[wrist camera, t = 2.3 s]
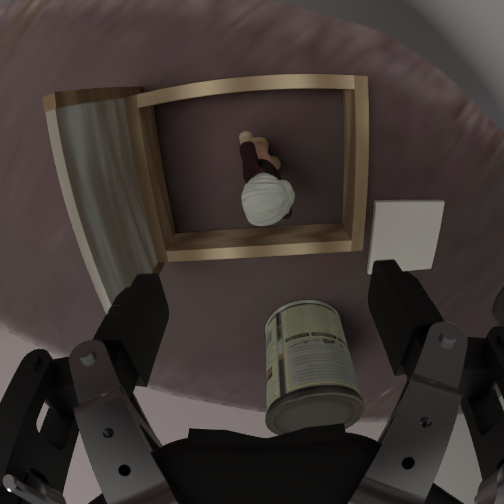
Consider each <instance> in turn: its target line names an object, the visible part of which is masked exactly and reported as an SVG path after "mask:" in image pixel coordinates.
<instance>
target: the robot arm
mask: <svg viewBox="0 0 504 504" xmlns="http://www.w3.org/2000/svg"><path fill="white" fill-rule="evenodd" d="M368 305H369V310H370V312H371V315H372V317H373V320H374V322H375V325H376V327H377V330H378V332H379V335H380V337H381V340H382V343H383V345H384V348H385V350H386V353H387V356H388V359H389V361H390V364H391V367H392V370H393V372H394V375H395V376H398V375H403V374H406V376H407V379H408V380H407V382H406V384H405V386H404V389H403V391H402V393H401V395H400V398H399V400H398V402H397V404H396V406H395V408H394V410H393V413H392V415H391V417H390V419H389V421H388V423H387V425H386V427H385V428H384V430H383V432H382V434H381V436H380V437H379V439H378V441H375V440H373V439H371V438H368V437H366V436H362V435H358V434H354V433H346V432H345V426H344V423H340V424H332V425H324V426H315V427H306V428H302V429H299V430H296V431H292V432H289V433H286V434H282V435H278V436H275V437H271V438H260V437H255V436H250V435H245V434H241V433H237V432H232V431H228V430H210V429H209V430H208V429H192V428H190V429H189V434H188V438H185V439H181V440H177V441H174V442H171V443H169V444H166V445H164V446H163V445H162V444H161V443H160V441H159V439H158V438H157V437H156V435H155V433H154V431H153V430H152V428H151V426H150V424H149V422H148V420H147V418H146V417H145V415H144V413H143V411H142V409H141V407H140V405H139V403H138V401H137V399H136V397H135V395H134V394H133V391H134V388H135V386H143V387H147V384H148V381H149V378H150V375H151V371H152V368H153V365H154V362H155V359H156V356H157V353H158V349H159V346H160V343H161V340H162V337H163V334H164V331H165V328H166V325H167V322H168V319H169V308H168V304H167V300H166V297H165V294H164V291H163V287H162V284H161V281H160V278H159V275H158V274H157V273H147V274H137V275H136V277H135V279H134V280H133V282H132V284H131V286H130V287H126V288H125V289H124V290H123V291H121V292H120V293H119V294H118V295H117V296H116V298H115V300H114V302H113V303H112V306H111V307H110V309H109V310H108V314H106V316H105V317H104V319H103V321H102V323H101V325H100V327H99V328H98V330H97V332H96V334H95V336H94V338H93V340H87V341H84V342H82V343H80V344H79V345H77V346H76V347H75V348H74V349H73V350H72V352H71V354H70V356H69V357H64V358H58V359H52V357H51V356H50V354H49V353H48V352H47V351H46V350H44V349H36V350H33V351H31V352H30V353H28V354H27V355H26V356H25V357H24V358H23V360H22V361H21V363H20V365H19V367H18V368H17V370H16V372H15V374H14V376H13V378H12V380H11V382H10V384H9V386H8V388H7V390H6V392H5V394H4V396H3V398H2V400H1V402H0V504H66V501H65V499H64V497H63V490H64V485H65V482H66V477H67V473H68V469H69V466H70V462H71V458H72V454H73V451H74V447H75V444H76V440H77V437H78V433H79V431H80V434H81V437H82V441H83V443H84V447H85V449H86V452H87V455H88V458H89V461H90V463H91V466H92V469H93V471H94V474H95V476H96V479H97V481H98V483H99V486H100V488H101V491H102V494H100V495H99V496H98V497H96V498H95V499H94V500H92V501H91V502H90V503H88V504H464V503H462V502H461V501H459V500H458V499H456V498H455V497H453V496H452V495H450V494H449V493H447V492H446V491H444V490H443V489H442V488H440V487H439V486H437V485H436V484H435V483H433V481H434V479H435V477H436V474H437V472H438V469H439V467H440V465H441V462H442V459H443V457H444V454H445V451H446V449H447V446H448V443H449V440H450V437H451V434H452V431H453V428H454V424H455V421H456V417H457V414H458V410H459V407H460V404H461V407H462V410H463V413H464V415H465V419H466V422H467V425H468V428H469V431H470V435H471V438H472V441H473V445H474V448H475V452H476V455H477V459H478V463H479V467H480V471H481V476H482V480H483V481H482V482H481V484H480V486H479V488H478V492H477V495H476V497H475V499H474V503H475V504H504V411H503V409H502V406H501V403H500V401H499V398H498V396H497V393H496V391H495V389H494V388H495V387H496V386H497V385H498V387H499V390H500V392H501V394H502V396H503V399H504V289H503V290H502V292H501V293H500V295H499V296H498V298H497V300H496V302H495V305H494V309H493V314H494V317H495V318H496V319H497V321H498V322H499V324H500V325H501V326H497V327H493V328H492V329H491V330H490V331H489V333H488V335H487V337H486V338H474V337H467V336H466V334H465V332H464V331H463V330H462V329H461V328H460V327H459V326H457V325H455V324H453V323H450V322H445V321H444V320H443V318H442V316H441V315H440V313H439V311H438V310H437V308H436V307H435V305H434V303H433V302H432V300H431V299H430V297H428V294H427V293H426V291H425V290H424V289H423V287H422V285H421V284H420V282H419V281H418V279H417V278H416V277H414V276H413V275H412V274H410V273H409V272H408V271H404V272H403V271H402V270H401V268H400V267H399V265H398V264H397V262H396V261H395V260H394V259H389V260H376V261H374V263H373V267H372V274H371V280H370V286H369V292H368ZM44 402H45V403H46V404H47V405H48V406H49V409H48V411H47V414H46V417H45V419H44V422H43V425H42V427H41V430H40V433H39V432H38V430H37V426H36V422H37V418H38V416H39V413H40V410H41V408H42V406H43V403H44Z"/></svg>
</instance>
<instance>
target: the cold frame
mask: <svg viewBox="0 0 504 504" xmlns="http://www.w3.org/2000/svg"><path fill="white" fill-rule="evenodd" d="M283 89H342V94H343V121H344V189H343V217H342V223H330V224H311V225H292V226H275V227H259V228H243V229H228V230H214V231H200V232H187V233H176V232H175V227H174V222H173V217H172V212H171V207H170V202H169V197H168V192H167V187H166V181H165V176H164V170H163V164H162V158H161V152H160V146H159V140H158V133H157V126H156V119H155V112H154V105H157V104H162V103H167V102H173V101H179V100H184V99H191V98H197V97H204V96H212V95H220V94H229V93H238V92H250V91H264V90H283ZM43 106H44V113H46V118H47V124H48V130H49V135H50V141H51V146H52V151H53V156H54V160H55V165H56V169H57V173H58V177H59V181H60V185H61V189H62V193H63V196H64V200H65V203H66V207H67V210H68V214H69V217H70V220H71V223H72V226H73V230H74V233H75V236H76V239H77V241H78V244H79V247H80V250H81V253H82V256H83V258H84V261H85V264H86V266H87V269H88V272H89V274H90V277H91V279H92V282H93V284H94V287H95V289H96V291H97V294H98V296H99V298H100V301H101V303H102V305H103V308H104V310H105V312H106V314H108V310H109V309H110V307H111V306H112V303H113V302H114V300H115V298H116V296H117V295H118V294H119V293H120V292H121V291H123V290H124V289H125V288H126V287H130V286H131V284H132V282H133V280H134V279H135V277H136V275H137V274H147V273H157V274H158V275H159V274H160V272H161V270H162V268H163V266H164V264H165V262H177V261H195V260H213V259H231V258H248V257H265V256H282V255H299V254H316V253H332V252H348V251H362V250H363V240H364V229H365V218H366V204H367V188H368V164H369V99H368V77H367V76H353V75H331V74H288V75H265V76H251V77H240V78H230V79H221V80H213V81H206V82H199V83H193V84H187V85H181V86H175V87H170V88H165V89H160V90H155V91H151V92H146V93H142V94H141V87H110V88H92V89H80V90H70V91H61V92H54V93H52V94H49V95H47V96H45V97H43Z"/></svg>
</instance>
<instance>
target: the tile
mask: <svg viewBox="0 0 504 504" xmlns="http://www.w3.org/2000/svg"><path fill="white" fill-rule="evenodd" d="M444 203H445V202H444V201H443V200H374V209H373V220H372V231H371V240H370V249H369V257H368V264H367V273H368V274H372V267H373V263H374V261H376V260H389V259H394V260H395V261H396V262H397V264H398V265H399V267H400V268H401V270H402V271H411V270H422V269H431V267H432V263H433V259H434V255H435V250H436V246H437V241H438V236H439V231H440V226H441V221H442V215H443V209H444Z"/></svg>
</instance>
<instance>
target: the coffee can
mask: <svg viewBox="0 0 504 504" xmlns="http://www.w3.org/2000/svg"><path fill="white" fill-rule="evenodd" d="M265 333H266V371H267V413H266V420H265V422H266V426H267V427H268V429H270V430H271V431H272V432H273V433H275V434H277V435H282V434H286V433H289V432H292V431H296V430H299V429H302V428H306V427H315V426H324V425H332V424H340V423H344V426H345V429H346V428H348V427H350V426H351V425H353V424H354V423H356V422H357V421H358V420H359V419H360V418H361V416H362V415H363V413H364V409H365V407H364V402H363V400H362V398H361V395H360V391H359V387H358V383H357V379H356V375H355V371H354V368H353V364H352V360H351V356H350V353H349V349H348V346H347V342H346V338H345V335H344V331H343V328H342V325H341V319H340V316H339V314H338V312H337V311H336V310H335V309H334V308H333V307H332V306H330V305H329V304H327V303H325V302H321V301H318V300H299V301H294V302H291V303H288V304H286V305H283V306H282V307H280V308H279V309H277V310H276V311H275V312H274V313H273V314H272V315H271V316H270V318H269V319H268V321H267V324H266V328H265Z"/></svg>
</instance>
